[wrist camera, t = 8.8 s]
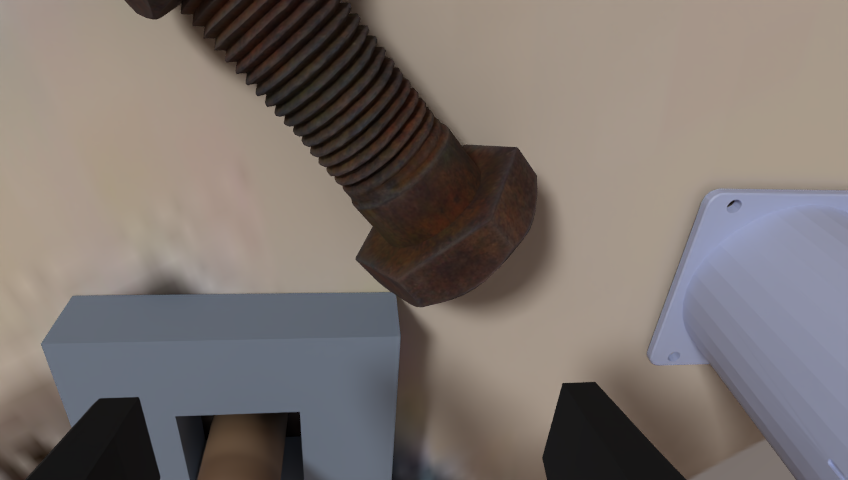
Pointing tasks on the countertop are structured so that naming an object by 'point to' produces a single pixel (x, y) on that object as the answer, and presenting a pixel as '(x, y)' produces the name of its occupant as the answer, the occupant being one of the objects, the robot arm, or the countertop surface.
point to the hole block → (240, 372)
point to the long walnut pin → (245, 447)
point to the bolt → (376, 143)
